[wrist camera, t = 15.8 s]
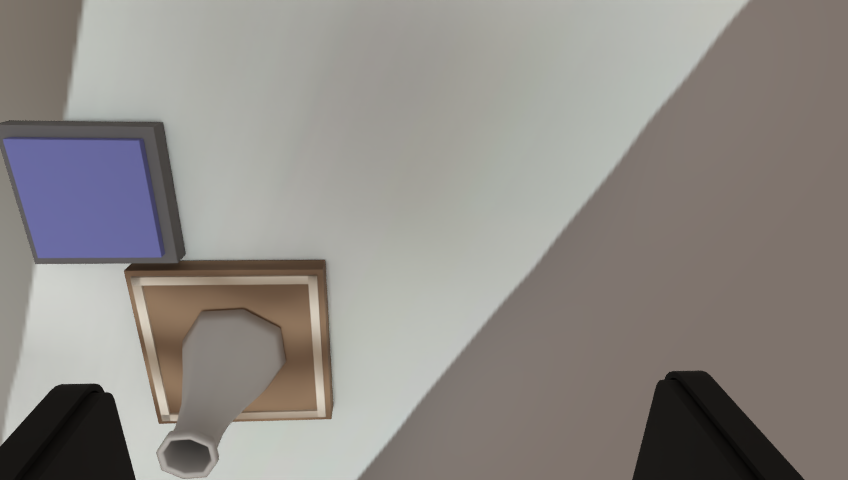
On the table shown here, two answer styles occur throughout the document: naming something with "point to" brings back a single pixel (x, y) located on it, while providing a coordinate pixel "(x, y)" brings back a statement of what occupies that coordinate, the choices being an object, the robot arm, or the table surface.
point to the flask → (218, 385)
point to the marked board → (230, 290)
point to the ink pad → (93, 191)
